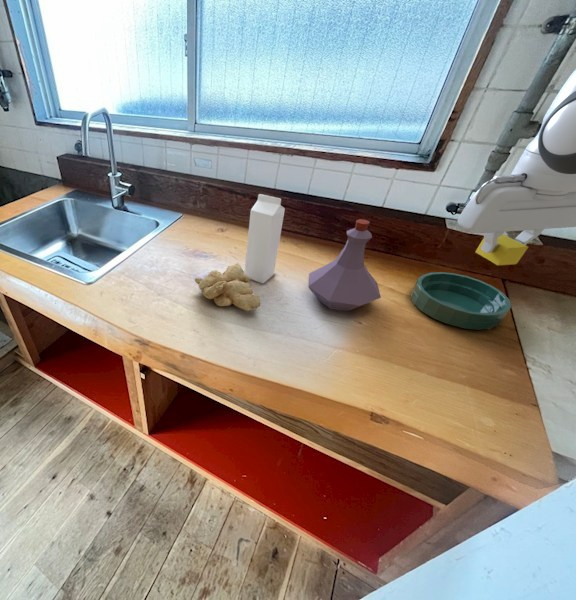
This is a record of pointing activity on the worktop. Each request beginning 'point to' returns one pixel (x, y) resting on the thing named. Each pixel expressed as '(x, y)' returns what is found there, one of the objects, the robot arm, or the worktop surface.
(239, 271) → the ginger root
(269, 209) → the milk
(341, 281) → the flask
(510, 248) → the yellow block
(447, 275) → the bowl
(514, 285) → the worktop surface
